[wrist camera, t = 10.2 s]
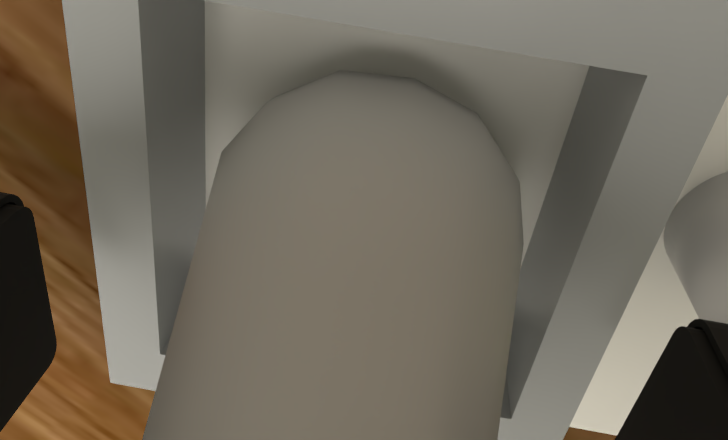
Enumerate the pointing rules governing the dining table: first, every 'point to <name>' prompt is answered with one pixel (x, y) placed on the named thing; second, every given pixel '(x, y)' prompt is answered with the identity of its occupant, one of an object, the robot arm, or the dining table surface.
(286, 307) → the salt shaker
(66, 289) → the dining table surface
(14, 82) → the dining table surface
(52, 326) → the robot arm
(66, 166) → the dining table surface
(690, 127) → the housing
